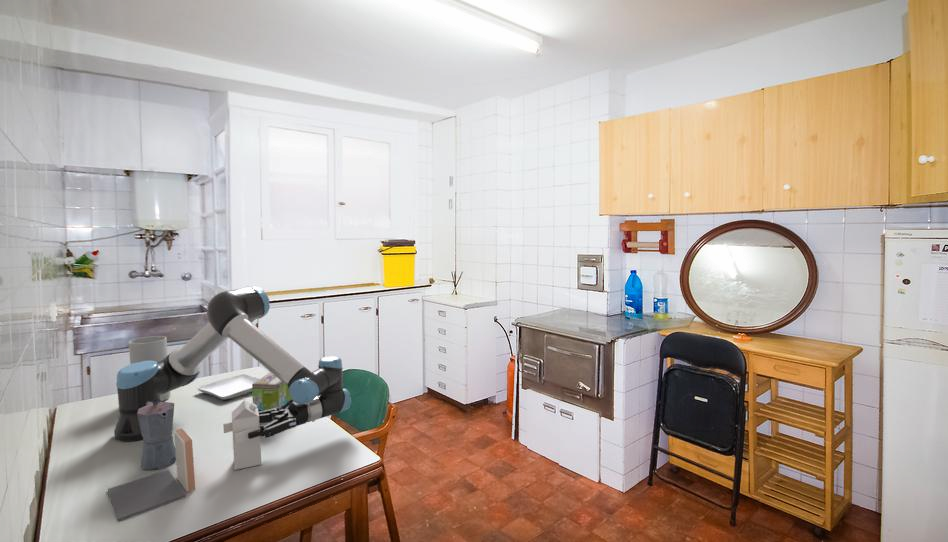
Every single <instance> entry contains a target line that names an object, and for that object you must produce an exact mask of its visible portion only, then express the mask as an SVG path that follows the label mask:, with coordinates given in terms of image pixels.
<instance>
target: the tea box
mask: <svg viewBox="0 0 948 542" xmlns="http://www.w3.org/2000/svg"><path fill="white" fill-rule="evenodd" d="M251 393H252V403H254V404H255V405H257V408H258V412H259V411H264V410H269V409H273V408H276V407H279V410H282V409H288V407H289V405H290V403H292V402H294V401H293V400H292V399H291V396H290V395H289V387H288V386H287V385H286V384H284V383H283V382H282V381H281V380H280V379H278V378H277V377H276V376H275V375H274V374H272V373H271V372H270V371H269V373H267V374H265V375H264V376H263V377H261V378H259V380H258V381H256V382H255V383H253V384H252V392H251ZM273 420H274V417H273ZM268 423H270V422H267V423H266V424H268Z"/></svg>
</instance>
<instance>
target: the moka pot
mask: <svg viewBox="0 0 948 542" xmlns="http://www.w3.org/2000/svg"><path fill="white" fill-rule="evenodd" d="M158 401H159V399H154V400H153V401H152V402H149V401H148V400H145V403H144V407H142V408H140V409H138V413H137V416H138V421H139V425H140V430H141V434H142V437H143V439H142V440H143V443H142V453H141V461H140V467H141V468H142V469H144V470H145V471H155V470H160V469H165V468H167V467H169V466H170V465H172V464H174V463H175V462H176V452H175V440H174V436H173V427H174V413H175V403H174V402H169V401H162V402H159V403H158Z"/></svg>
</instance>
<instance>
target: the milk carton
mask: <svg viewBox="0 0 948 542" xmlns="http://www.w3.org/2000/svg"><path fill="white" fill-rule="evenodd" d="M231 422H232V431H231V432H232V449H233V464H234V470H235V471H237V470H241V469H247V468H251V467H256V466H259V465H262V449H261V448H262V447H261V436H259V437H256V438H253V439H250V440H246V441H243V442H240V443H237V444H236V443H235V435H234V434H235V433H239V432H242V431H245V430H249V429H252V428H256V427H259V430H260V425H261V424H260V423H259V412H258V408H257V405H255V404H254V403H253V402H251V403H249V402H248V401H246V398H245V397H243V401H242V402H241V403H240V404H239V405H238V406H237V407H236V408H235V409H234V410H232V411H231Z"/></svg>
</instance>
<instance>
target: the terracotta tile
mask: <svg viewBox="0 0 948 542" xmlns="http://www.w3.org/2000/svg"><path fill="white" fill-rule="evenodd" d="M173 439H174V445H175V452H176V461H175V462H176V463H175V464H176V475H177V476H176V477H177V478H176V479H177V480H178V481H179V483H180V484H181V485H182V487H183V489H184V490H185V492H188V493H190V492H193V491H195V490H196V478H195V464H194V452H193V451H194V448H193V439H192V438H191V437H190V435H188V433H187V432H186V431H185V430H184V429H183V428H182V427H181V428H178V429H175V430H174V431H173Z"/></svg>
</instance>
